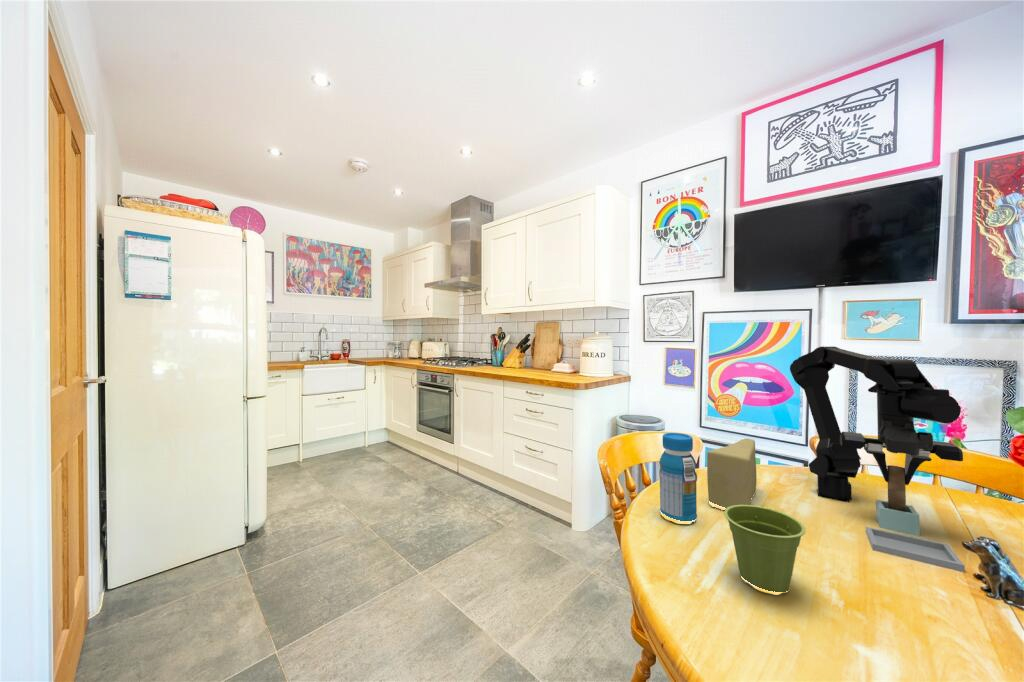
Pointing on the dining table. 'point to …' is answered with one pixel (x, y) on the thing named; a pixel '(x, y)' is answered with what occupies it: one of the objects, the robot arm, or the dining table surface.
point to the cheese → (732, 474)
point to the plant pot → (765, 545)
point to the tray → (914, 548)
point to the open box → (897, 518)
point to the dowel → (896, 488)
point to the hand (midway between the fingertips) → (896, 483)
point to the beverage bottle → (678, 478)
